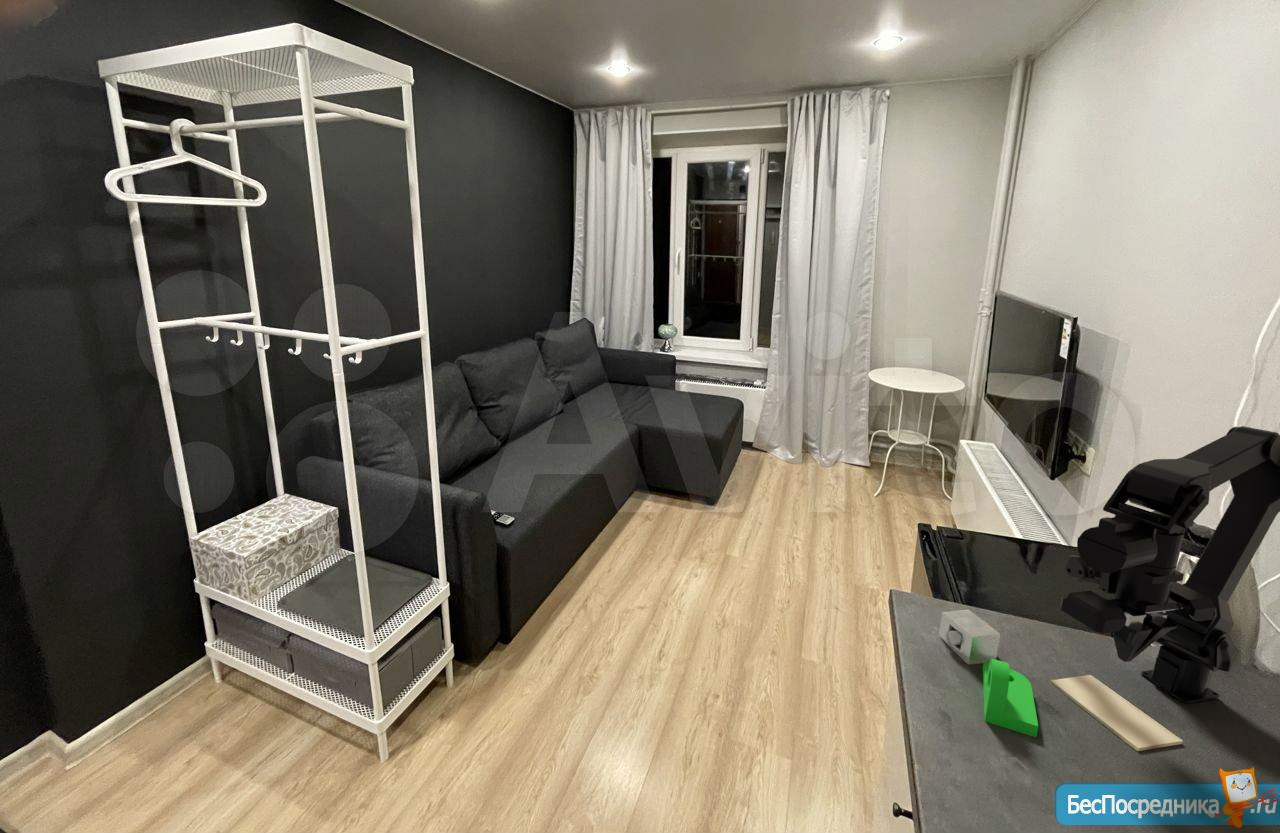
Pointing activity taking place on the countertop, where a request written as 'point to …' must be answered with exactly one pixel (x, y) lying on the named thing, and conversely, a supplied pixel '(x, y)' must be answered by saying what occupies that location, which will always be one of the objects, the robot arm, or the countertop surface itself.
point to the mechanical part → (1008, 698)
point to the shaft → (956, 636)
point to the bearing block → (970, 636)
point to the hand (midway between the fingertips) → (1124, 659)
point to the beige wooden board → (1116, 713)
